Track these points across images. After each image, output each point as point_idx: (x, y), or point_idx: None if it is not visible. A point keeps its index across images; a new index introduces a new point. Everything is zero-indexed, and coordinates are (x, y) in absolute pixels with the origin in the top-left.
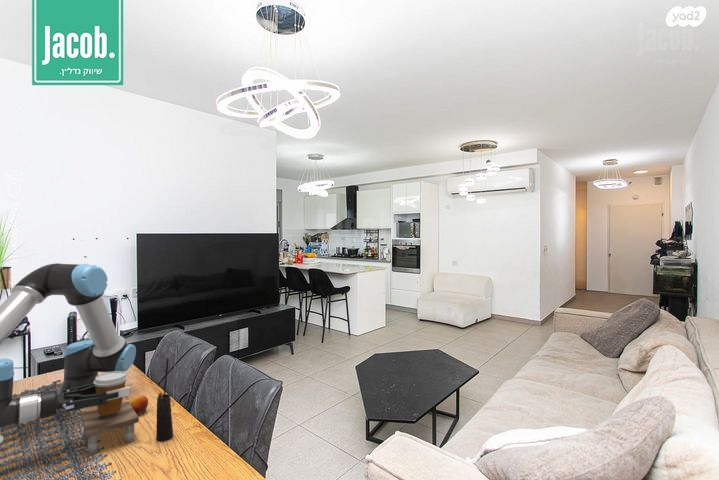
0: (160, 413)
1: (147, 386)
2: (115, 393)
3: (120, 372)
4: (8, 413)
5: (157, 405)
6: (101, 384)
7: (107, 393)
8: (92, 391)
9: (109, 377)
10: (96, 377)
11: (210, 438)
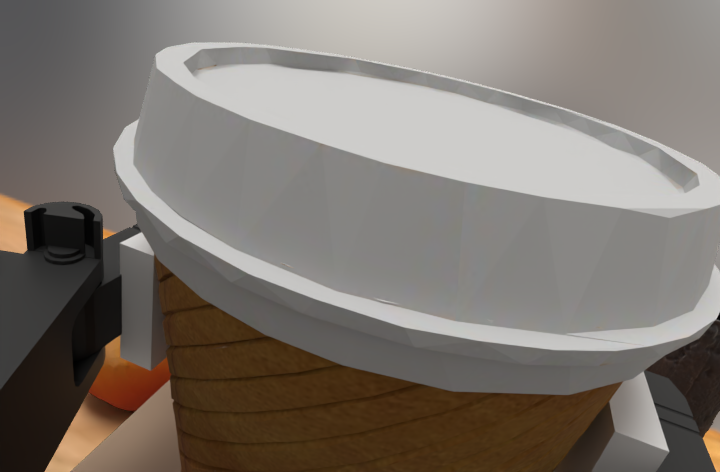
0: (707, 422)
1: None
2: (683, 408)
3: (358, 71)
4: None
5: (700, 376)
6: (653, 322)
7: (654, 461)
8: (37, 436)
9: (447, 132)
10: (247, 113)
11: (716, 437)
